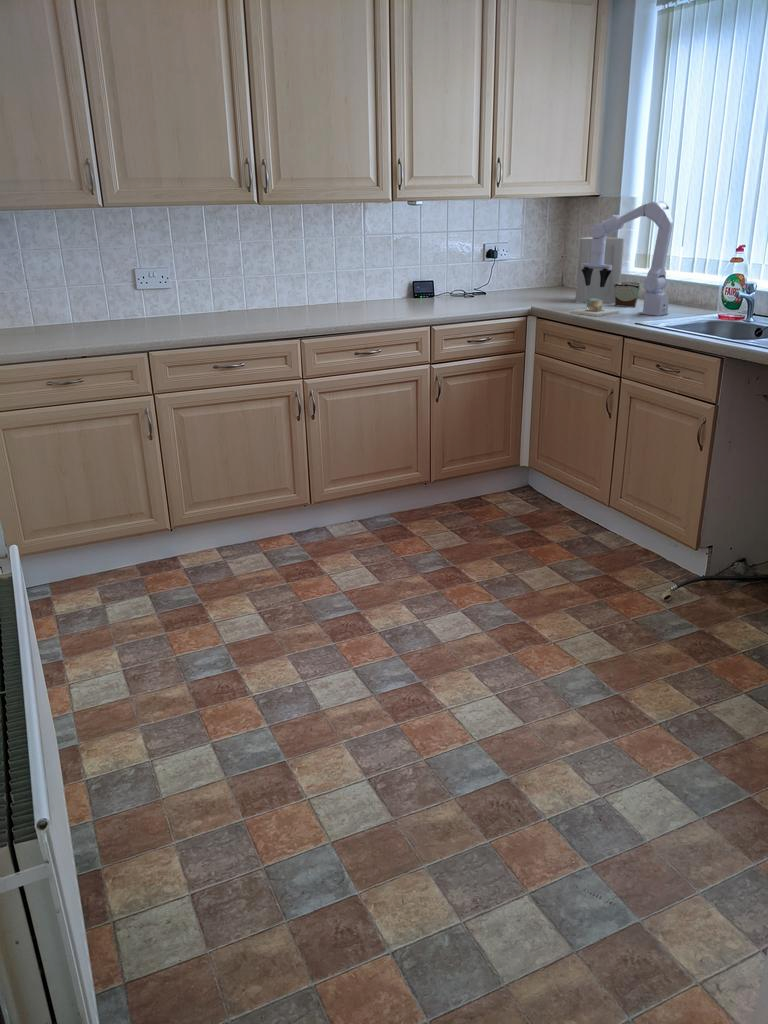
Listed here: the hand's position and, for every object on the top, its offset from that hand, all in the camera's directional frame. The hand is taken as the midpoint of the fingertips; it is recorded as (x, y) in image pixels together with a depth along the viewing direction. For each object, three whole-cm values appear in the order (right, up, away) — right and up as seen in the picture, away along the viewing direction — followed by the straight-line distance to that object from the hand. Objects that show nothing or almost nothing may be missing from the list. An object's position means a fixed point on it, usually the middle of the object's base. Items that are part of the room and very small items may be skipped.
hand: (595, 286), depth 361 cm
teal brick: (0, -8, +5) cm, 10 cm away
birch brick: (-2, -13, -9) cm, 16 cm away
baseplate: (-3, -14, -9) cm, 17 cm away
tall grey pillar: (+7, 0, +27) cm, 28 cm away
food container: (+18, -6, +12) cm, 22 cm away
